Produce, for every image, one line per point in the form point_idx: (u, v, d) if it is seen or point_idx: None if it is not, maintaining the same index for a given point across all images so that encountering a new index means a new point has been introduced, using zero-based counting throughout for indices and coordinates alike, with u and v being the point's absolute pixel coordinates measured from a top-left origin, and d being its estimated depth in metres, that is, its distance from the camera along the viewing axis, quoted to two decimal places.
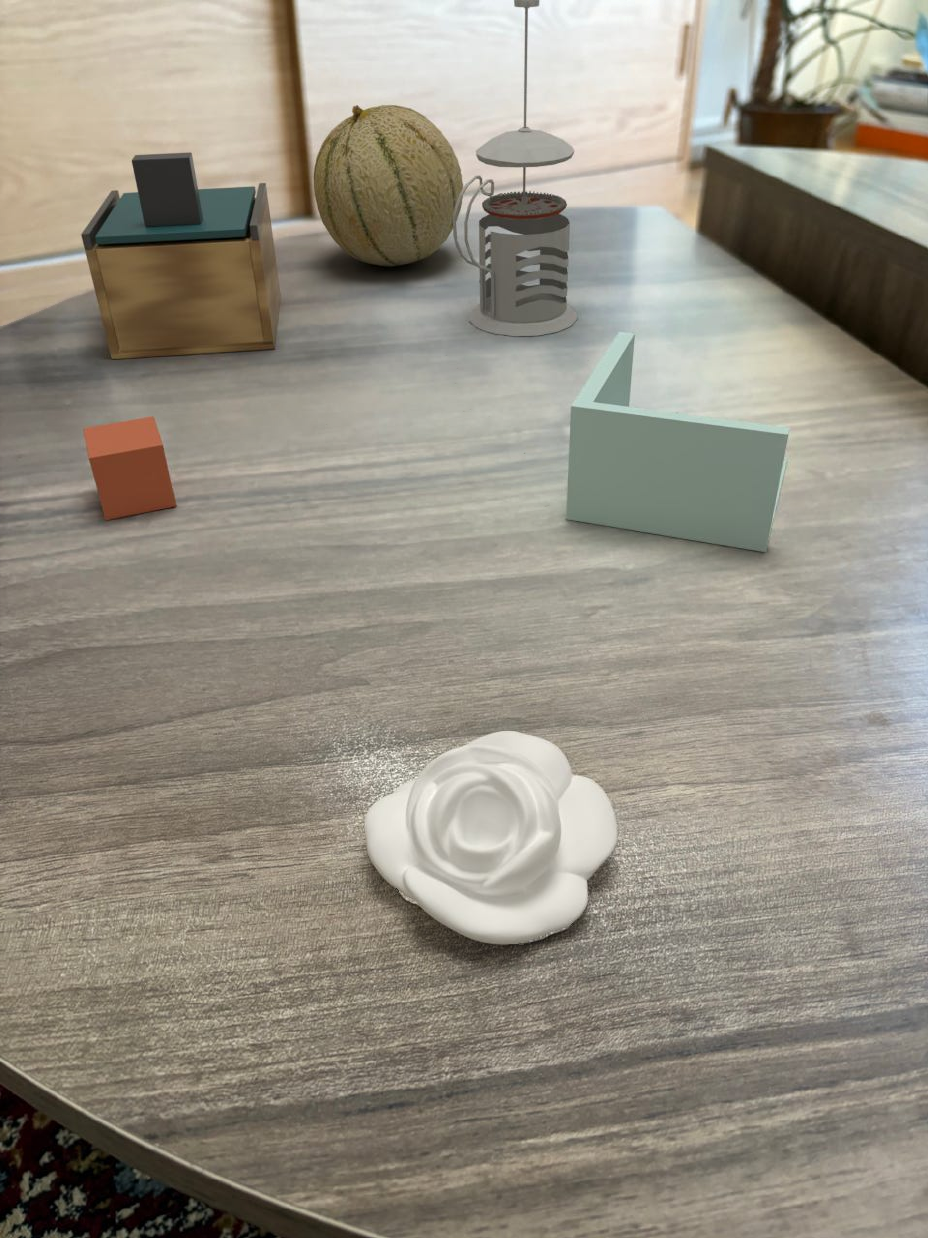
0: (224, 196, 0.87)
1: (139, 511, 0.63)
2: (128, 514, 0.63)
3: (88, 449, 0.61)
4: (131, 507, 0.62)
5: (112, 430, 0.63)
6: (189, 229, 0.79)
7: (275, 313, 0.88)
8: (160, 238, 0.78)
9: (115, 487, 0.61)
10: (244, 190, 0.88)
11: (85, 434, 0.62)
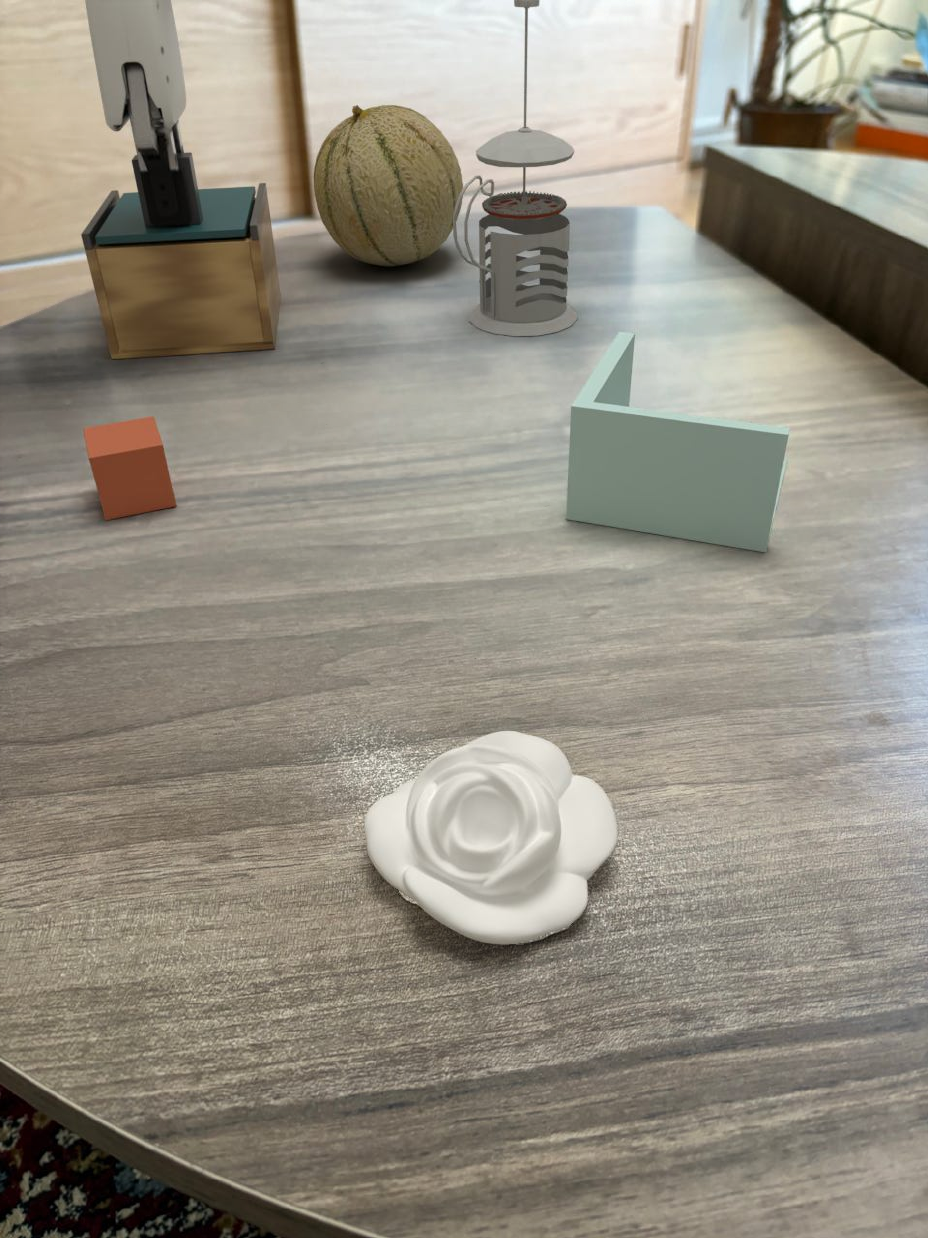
0: (224, 196, 0.87)
1: (139, 511, 0.63)
2: (128, 514, 0.63)
3: (88, 449, 0.61)
4: (131, 507, 0.62)
5: (112, 430, 0.63)
6: (189, 229, 0.79)
7: (275, 313, 0.88)
8: (160, 238, 0.78)
9: (115, 487, 0.61)
10: (244, 190, 0.88)
11: (85, 434, 0.62)
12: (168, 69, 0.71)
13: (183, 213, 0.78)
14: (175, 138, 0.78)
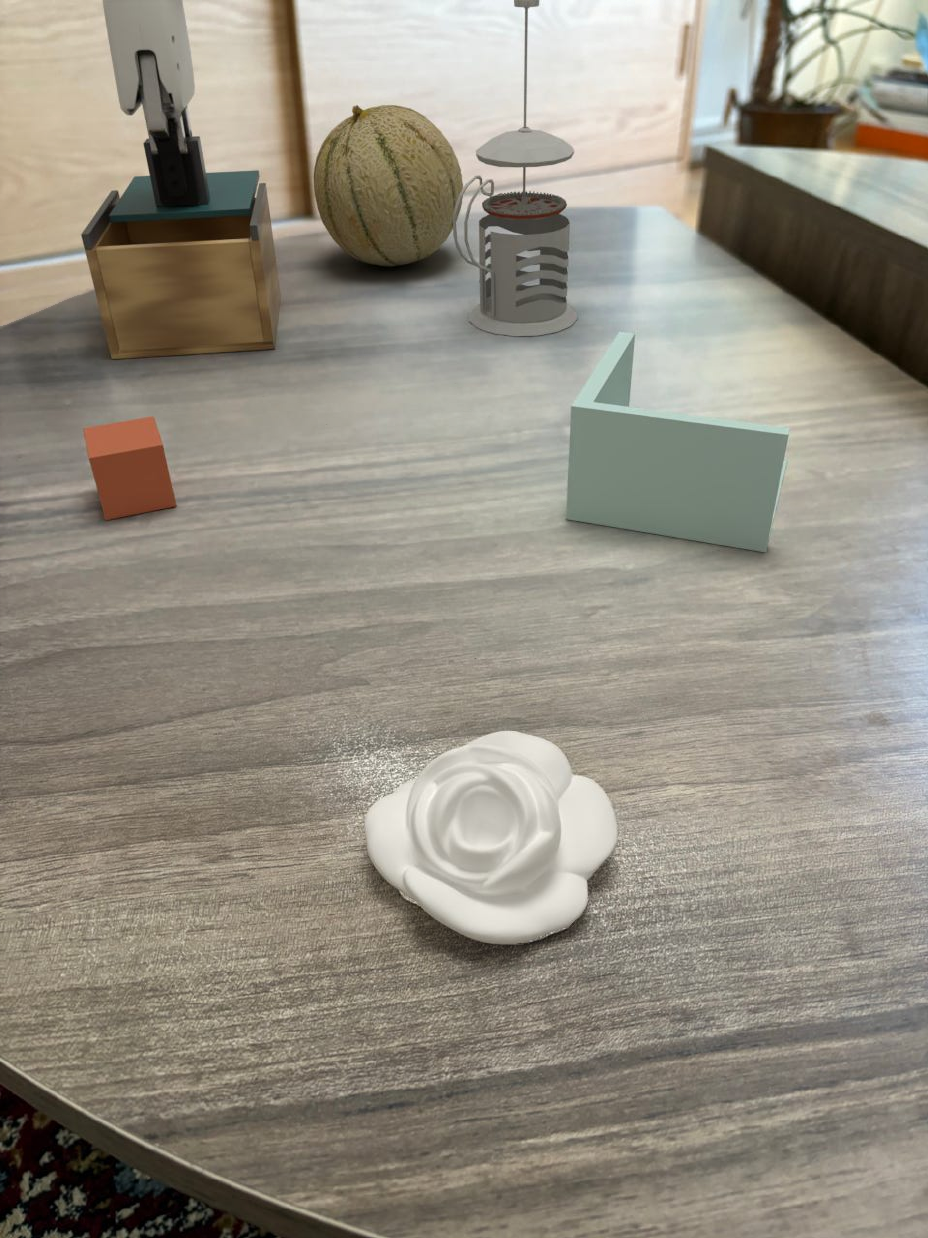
0: (230, 179, 0.92)
1: (139, 511, 0.63)
2: (128, 514, 0.63)
3: (88, 449, 0.61)
4: (131, 507, 0.62)
5: (112, 430, 0.63)
6: (197, 208, 0.84)
7: (275, 313, 0.88)
8: (170, 217, 0.83)
9: (115, 487, 0.61)
10: (248, 174, 0.93)
11: (85, 434, 0.62)
12: (178, 57, 0.76)
13: (191, 193, 0.83)
14: (184, 123, 0.83)
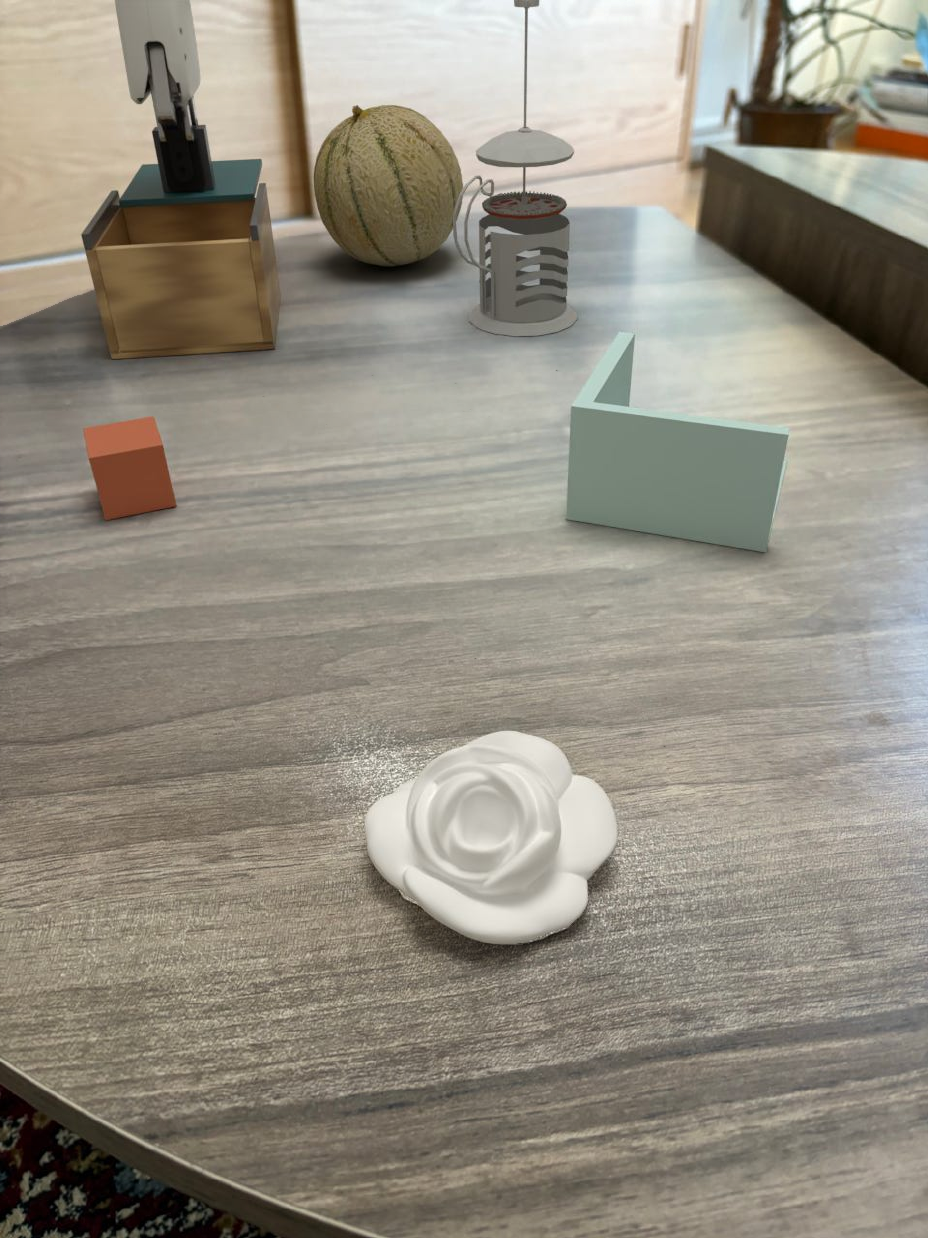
0: (234, 167, 0.95)
1: (139, 511, 0.63)
2: (128, 514, 0.63)
3: (88, 449, 0.61)
4: (131, 507, 0.62)
5: (112, 430, 0.63)
6: (203, 193, 0.87)
7: (275, 313, 0.88)
8: (177, 202, 0.87)
9: (115, 487, 0.61)
10: (252, 162, 0.97)
11: (85, 434, 0.62)
12: (186, 48, 0.80)
13: (198, 179, 0.87)
14: (190, 112, 0.87)
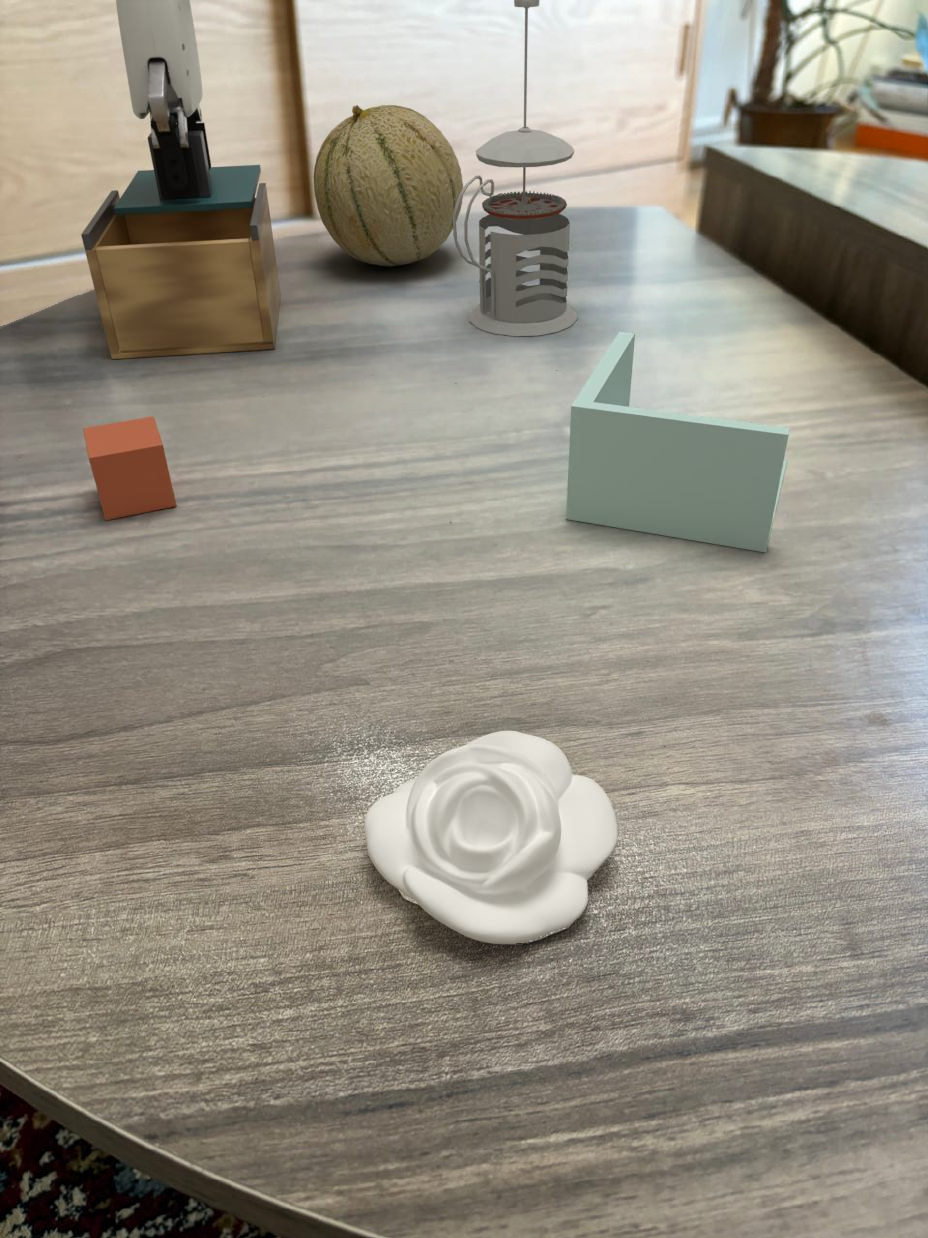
0: (232, 173, 0.93)
1: (139, 511, 0.63)
2: (128, 514, 0.63)
3: (88, 449, 0.61)
4: (131, 507, 0.62)
5: (112, 430, 0.63)
6: (200, 201, 0.85)
7: (275, 313, 0.88)
8: (173, 209, 0.85)
9: (115, 487, 0.61)
10: (250, 168, 0.95)
11: (85, 434, 0.62)
12: (188, 64, 0.80)
13: (192, 187, 0.84)
14: None
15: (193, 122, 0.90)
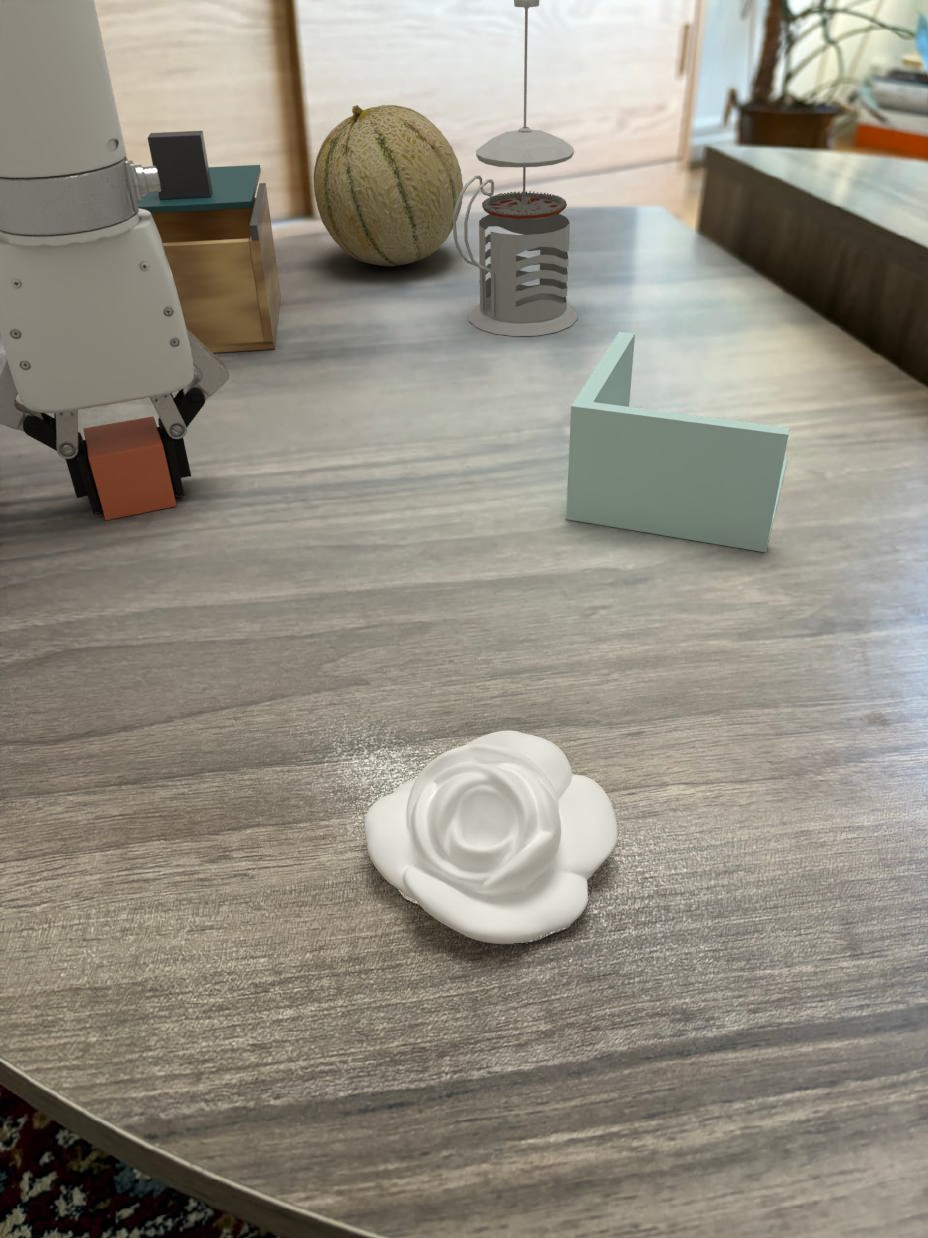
0: (232, 173, 0.93)
1: (139, 511, 0.63)
2: (128, 514, 0.63)
3: (88, 449, 0.61)
4: (131, 507, 0.62)
5: (112, 430, 0.63)
6: (200, 201, 0.85)
7: (275, 313, 0.88)
8: (173, 209, 0.85)
9: (115, 487, 0.61)
10: (250, 168, 0.95)
11: (85, 434, 0.62)
12: (32, 354, 0.55)
13: None
14: None
15: (162, 435, 0.62)
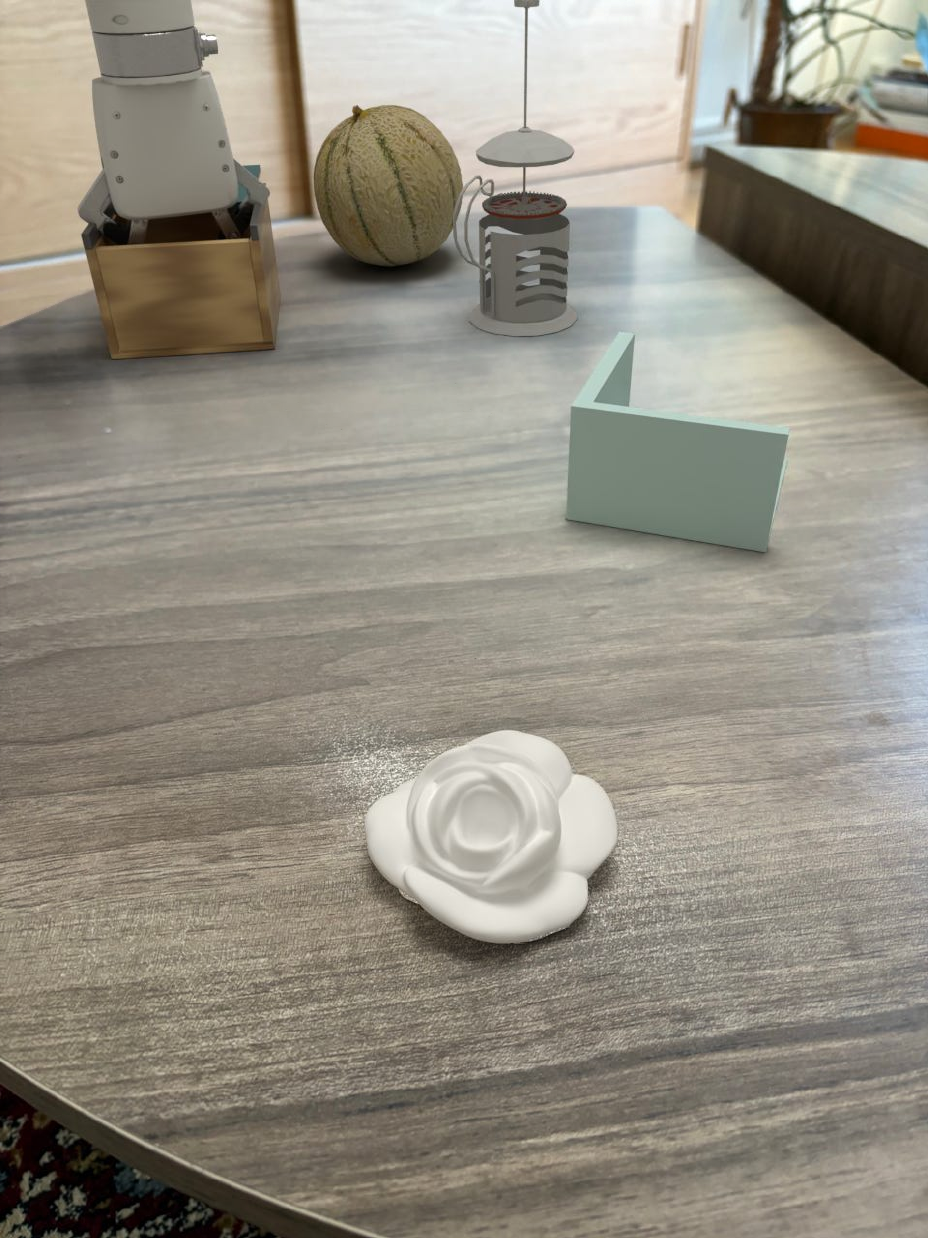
0: None
1: None
2: None
3: None
4: None
5: None
6: None
7: (275, 313, 0.88)
8: None
9: None
10: (250, 168, 0.95)
11: None
12: (125, 171, 0.77)
13: None
14: None
15: None
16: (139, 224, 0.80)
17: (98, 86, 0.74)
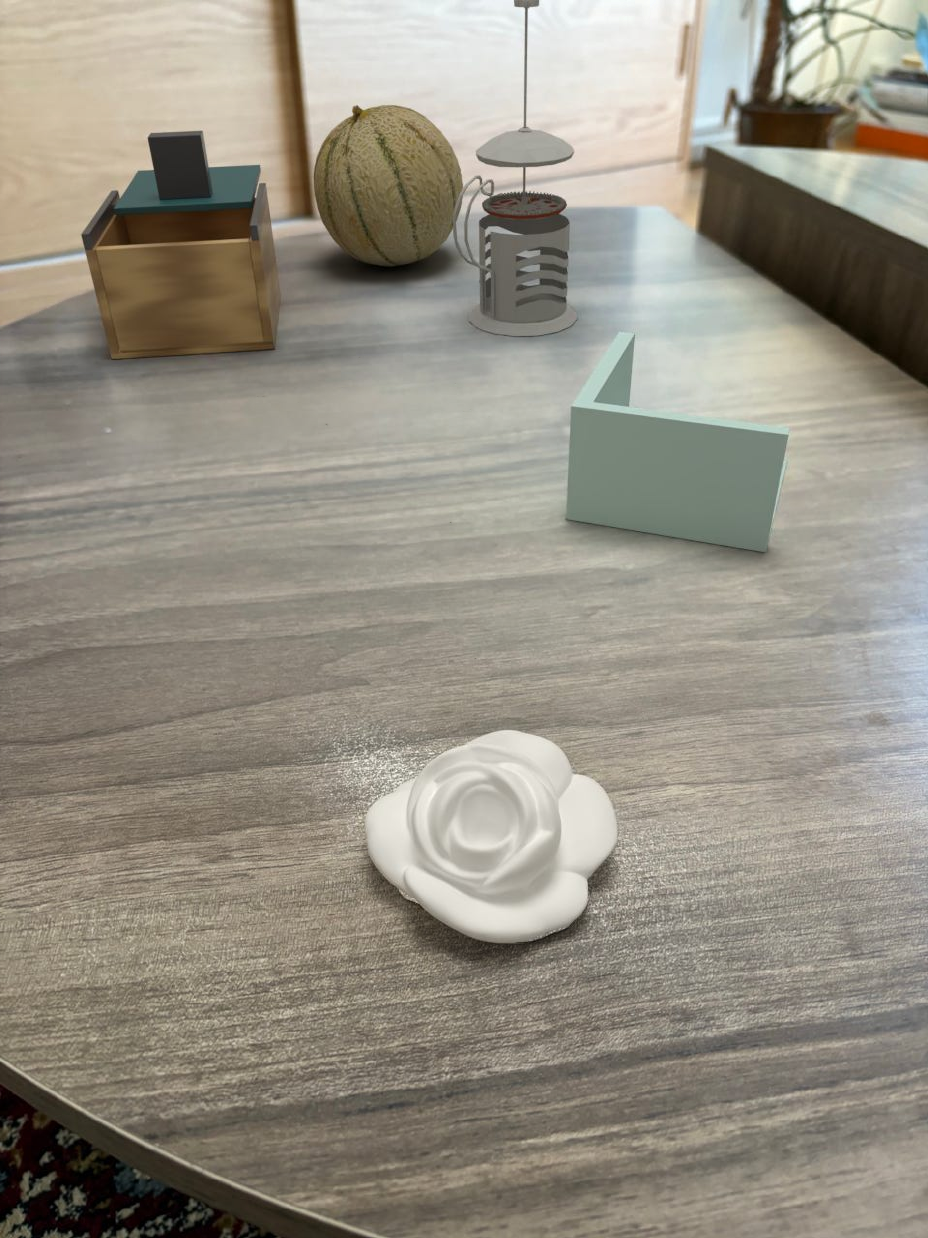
0: (232, 173, 0.93)
1: None
2: None
3: None
4: None
5: None
6: (200, 201, 0.85)
7: (275, 313, 0.88)
8: (173, 209, 0.85)
9: None
10: (250, 168, 0.95)
11: None
12: None
13: None
14: None
15: None
16: None
17: None
